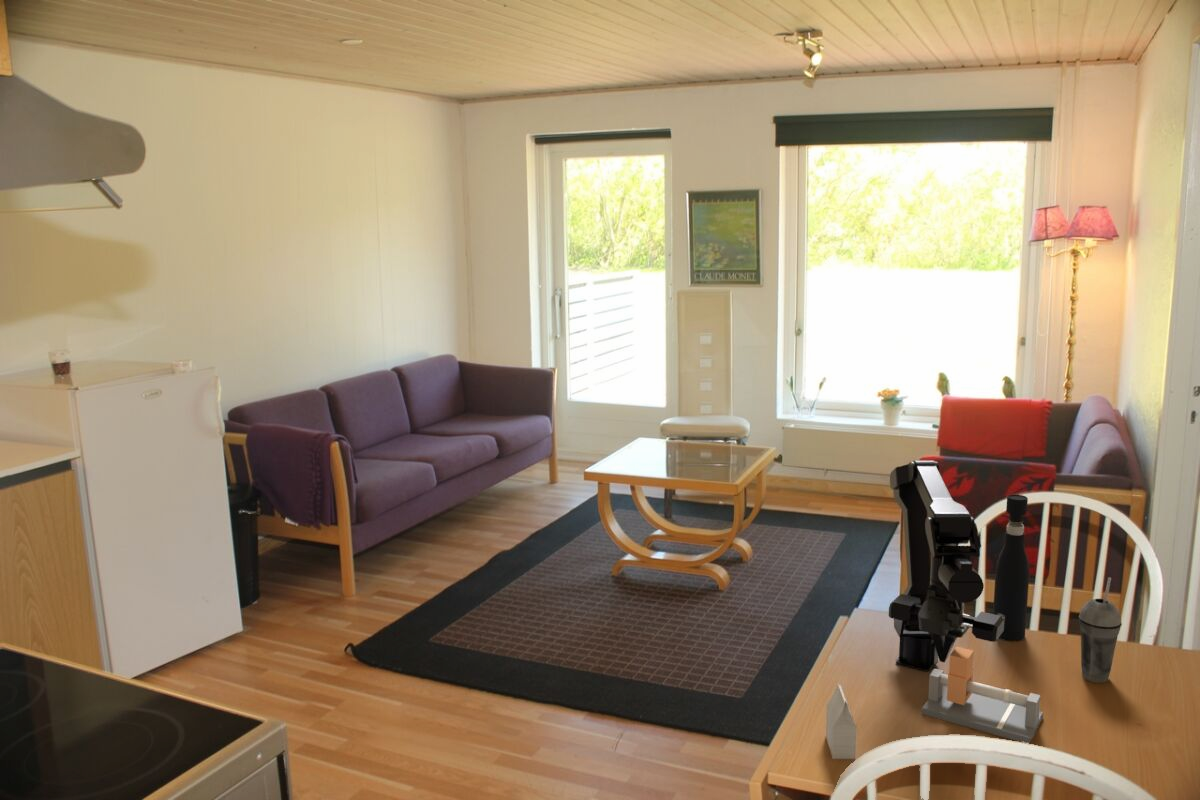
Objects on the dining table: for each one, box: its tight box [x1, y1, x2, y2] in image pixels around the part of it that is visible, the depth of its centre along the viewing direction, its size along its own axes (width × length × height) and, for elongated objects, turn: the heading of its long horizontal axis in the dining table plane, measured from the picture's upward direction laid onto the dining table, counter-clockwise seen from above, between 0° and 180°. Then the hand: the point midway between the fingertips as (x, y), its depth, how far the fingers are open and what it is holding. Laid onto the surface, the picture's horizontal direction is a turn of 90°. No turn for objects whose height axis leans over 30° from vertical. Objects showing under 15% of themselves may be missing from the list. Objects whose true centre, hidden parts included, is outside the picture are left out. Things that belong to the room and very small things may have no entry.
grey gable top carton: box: [825, 683, 857, 760], centre depth 163 cm, size 4×7×10 cm, turn 176°
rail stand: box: [921, 668, 1044, 744], centre depth 172 cm, size 18×10×6 cm, turn 55°
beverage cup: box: [1078, 576, 1122, 684], centre depth 183 cm, size 7×7×20 cm
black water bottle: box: [992, 493, 1030, 642], centre depth 200 cm, size 6×6×30 cm
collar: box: [947, 646, 975, 705], centre depth 173 cm, size 3×5×8 cm, turn 144°
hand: (943, 661), depth 175 cm, fingers closed
